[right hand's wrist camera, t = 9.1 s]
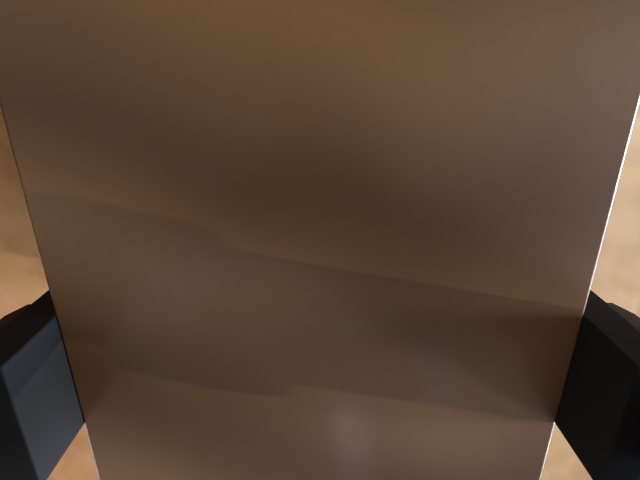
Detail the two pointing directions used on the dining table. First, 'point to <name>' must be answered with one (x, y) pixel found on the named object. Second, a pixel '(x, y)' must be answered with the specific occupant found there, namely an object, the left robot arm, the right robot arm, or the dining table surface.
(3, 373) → the right robot arm
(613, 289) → the dining table surface
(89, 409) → the cabinet
